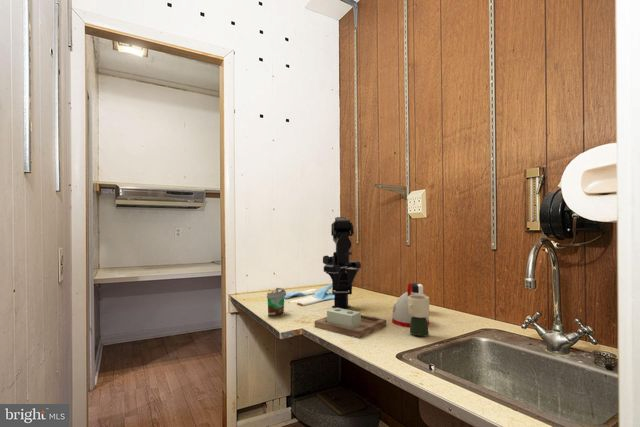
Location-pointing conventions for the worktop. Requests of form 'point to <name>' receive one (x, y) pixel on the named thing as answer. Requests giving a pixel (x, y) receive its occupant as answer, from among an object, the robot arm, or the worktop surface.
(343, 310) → the pale green spotted block
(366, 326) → the brown recessed board
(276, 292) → the food container
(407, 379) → the worktop surface
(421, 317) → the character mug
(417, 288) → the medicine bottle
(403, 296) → the kitchen timer
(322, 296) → the rubber gloves
